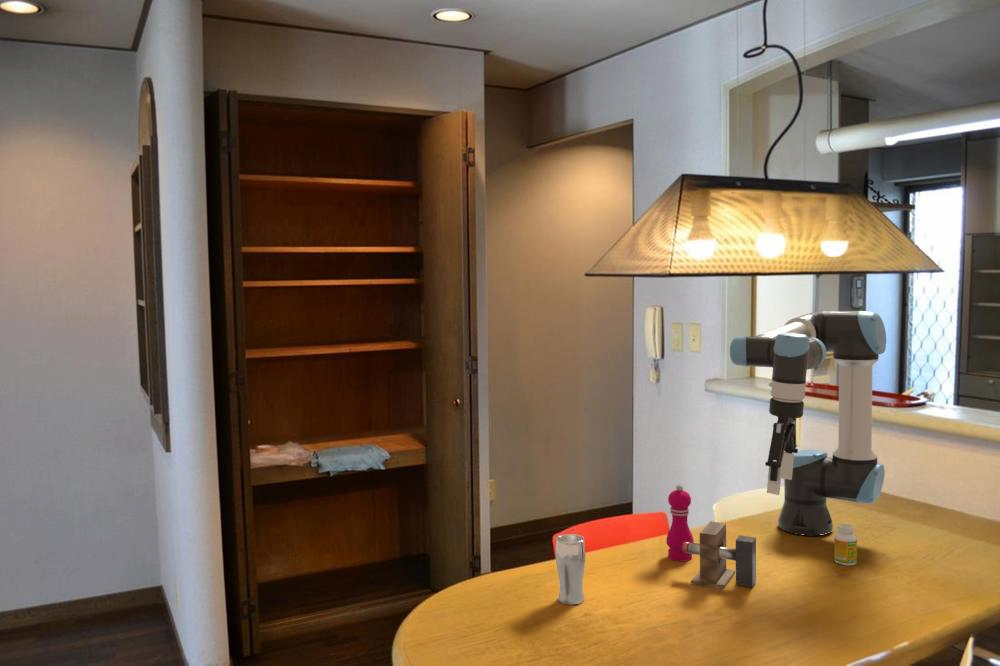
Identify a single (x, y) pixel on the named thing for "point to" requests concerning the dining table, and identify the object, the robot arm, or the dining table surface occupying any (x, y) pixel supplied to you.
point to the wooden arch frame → (712, 558)
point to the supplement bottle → (845, 545)
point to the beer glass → (570, 567)
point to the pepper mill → (679, 524)
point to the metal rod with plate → (735, 558)
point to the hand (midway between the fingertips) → (779, 486)
